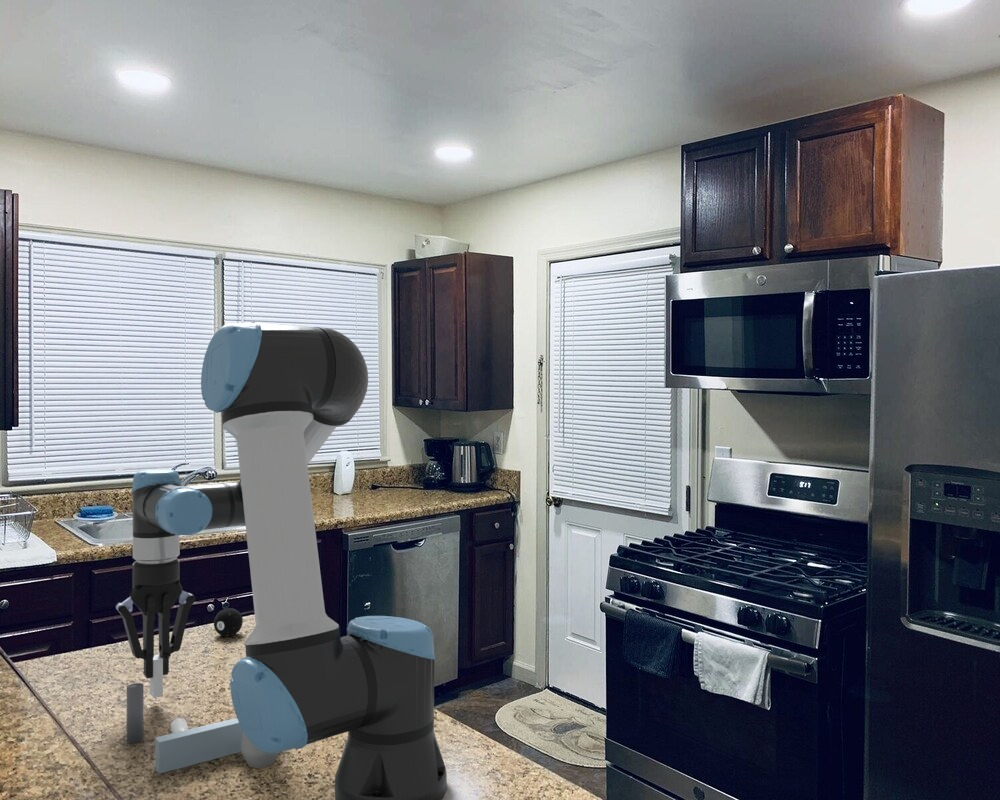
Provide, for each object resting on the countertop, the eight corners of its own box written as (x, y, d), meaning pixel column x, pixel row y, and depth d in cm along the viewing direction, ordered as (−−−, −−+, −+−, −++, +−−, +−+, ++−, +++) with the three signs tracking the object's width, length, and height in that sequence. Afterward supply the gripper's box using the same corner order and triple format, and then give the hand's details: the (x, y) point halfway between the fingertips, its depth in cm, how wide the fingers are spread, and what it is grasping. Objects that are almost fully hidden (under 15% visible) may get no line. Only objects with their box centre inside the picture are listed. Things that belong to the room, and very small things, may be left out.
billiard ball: (247, 632, 182) (247, 606, 182) (232, 640, 176) (232, 613, 176) (224, 630, 184) (224, 604, 184) (208, 638, 178) (208, 611, 178)
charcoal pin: (145, 740, 125) (145, 686, 125) (128, 744, 124) (128, 689, 124) (141, 735, 127) (141, 682, 127) (125, 739, 126) (125, 685, 126)
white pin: (187, 717, 129) (193, 737, 121) (186, 732, 129) (192, 753, 121) (170, 719, 128) (176, 739, 120) (170, 734, 128) (175, 755, 120)
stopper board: (280, 741, 125) (280, 712, 125) (159, 773, 114) (159, 742, 114) (275, 736, 127) (275, 708, 127) (155, 768, 116) (155, 737, 116)
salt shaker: (269, 772, 115) (269, 682, 115) (233, 768, 116) (233, 679, 116) (288, 754, 120) (288, 668, 120) (253, 751, 122) (253, 665, 121)
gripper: (188, 551, 146) (188, 680, 147) (110, 560, 138) (110, 696, 139) (201, 558, 140) (201, 692, 141) (120, 567, 133) (120, 710, 133)
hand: (156, 694), depth 140 cm, fingers closed
